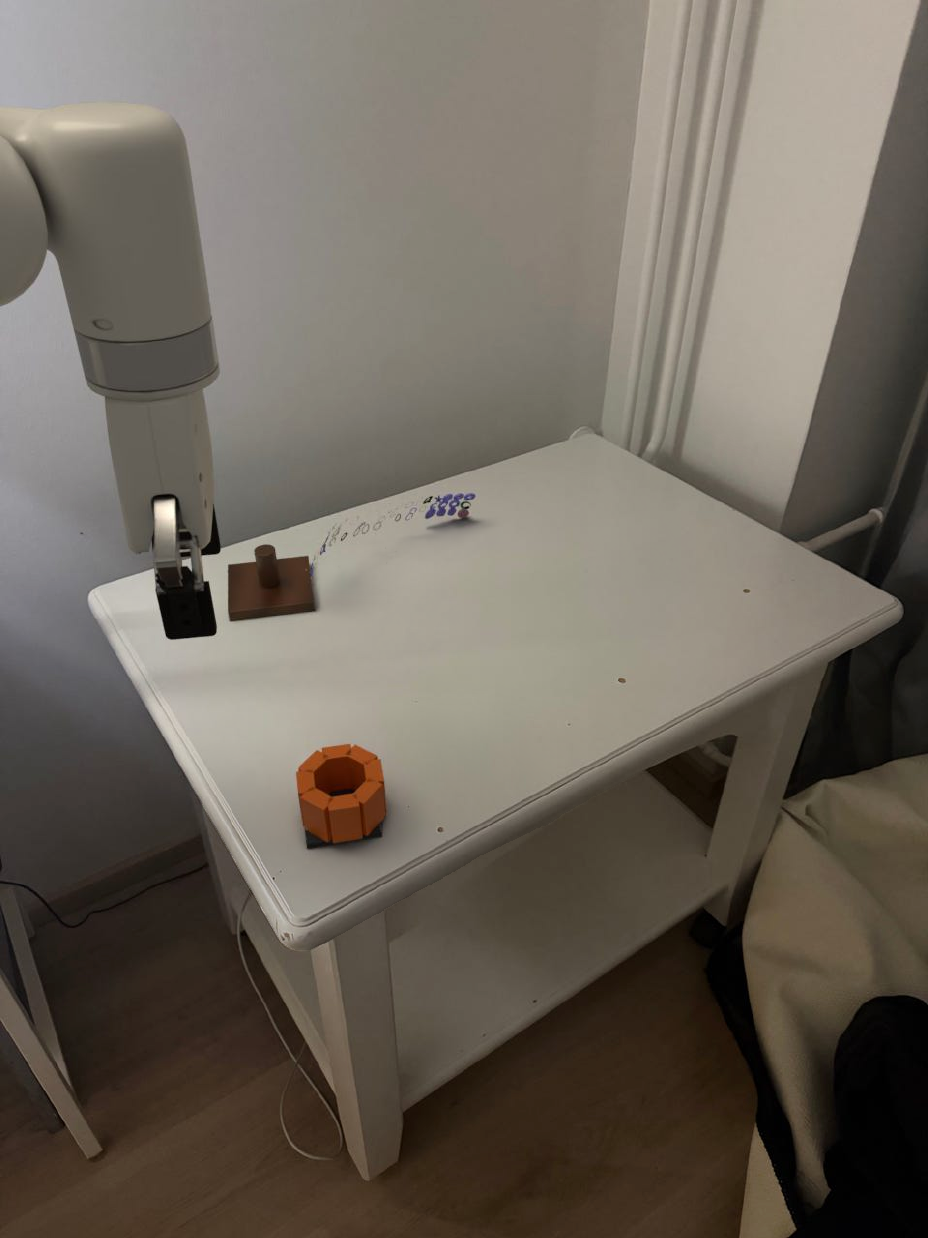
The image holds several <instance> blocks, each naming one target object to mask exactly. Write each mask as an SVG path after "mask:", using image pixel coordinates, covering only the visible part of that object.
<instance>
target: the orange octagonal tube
mask: <svg viewBox="0 0 928 1238" xmlns="http://www.w3.org/2000/svg"><path fill="white" fill-rule="evenodd" d="M295 777H296V789H297V797H298V798H297V799H298V805H299V810H300V816H301V817H300V818H301V822H302V827H304V830H305V829H306V830H307V831H309V832H310V833H312V834H314V835H316V836H317V837H319V838H321V839H323V840H324V841H326V842H329V841H330V840H331V839H332V841H333V843H339V842H345V841H351V840H357V839H362V838H363V834H364V835H366V836H368V835H369V834H370V833H371V832H372V831H373V830H374V828H375V827H376V826H377V825H378V824H379V823H380V824H381V822H382V821H383V820H384V819H385V818H386V814H387V801H386V787H385V777H384V771H383V766H382V761H381V759H380V758H379V757H378V755H377V754H375V753H374V752H371V751H369V750H367V749H365V748H364V747H361V746H359V745H358V744H354V745H351V743H344V744H338V745H331V746H325V747H324V746H323V747H321V751H320V750H317V749H316V750H315V751H314V752H313V753H312V754H311V755H310V756H309V757H308V758H306V759H305V760H304V761H303V762H302V763H301V764H300V765H299V766H298V768H297V771H295ZM346 789H353V790H355V792H354V793H353V794H347V795H341V796H334V797H331V796H329V795H328V794H329V793H330V792H333V791H340V790H346ZM339 844H340V843H339Z"/></svg>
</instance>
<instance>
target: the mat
mask: <svg viewBox="0 0 928 1238" xmlns="http://www.w3.org/2000/svg"><path fill="white" fill-rule="evenodd" d="M354 792H355V790H353V789H346V790H340V791H333V792H330V793H329V794H328V795H329V796H331V797H334V796H341V795H347V794H353V793H354ZM304 832H305V844H306V845H305V846H306V849H314V848H320V847H325V846H327V847H328V846H332V845H339V844H344V843H352V842H356V841H363V840H369V839H377V838H382V835H383V834H382V827H381V822H380V823H379V824H378V825H377V826H376V827H375V828H374V830H373V831H372V832H371V833H370V834H369V835H368V836H366V835H364V834H363V838H362V839H357V840H351V841H345V842H339V843H333V841H332V839H331V840H330V841H329V842H326V841H324V840H323V839H321V838H319V837H317V836H316V835H314V834H312V833H310V832H309V831H307V830H306V829H305V828H304Z"/></svg>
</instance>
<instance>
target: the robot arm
mask: <svg viewBox="0 0 928 1238" xmlns="http://www.w3.org/2000/svg"><path fill="white" fill-rule="evenodd" d="M191 169H192V168H191V163H190V157H189V151H188V145H187V141H186V137H185V134H184V131H183V129H182V128H181V125H180V124H179V123H178V121H177V120H176V119H175V118H174V116H172V115H171V114H170V113H168V112H167V111H166V110H163V109H161V108H158V107H155V106H152V105H149V104H143V103H133V102H121V101H114V102H113V101H94V102H81V103H80V102H79V103H73V104H72V103H71V104H65V105H60V106H59V105H58V106H55V107H52V108H49V109H46V108H45V109H43V108H30V107H15V106H4V105H0V307H3V306H6V305H8V304H10V303H12V302H13V301H15V300H17V299H18V298H19V297H21V296H23V295H24V294H25V293H26V292H27V291H28V290H29V288H30V287H31V286H32V285H33V284H34V283H35V281H36V280H37V279H38V277H39V275H40V273H41V271H42V269H43V267H44V264H45V261H46V258H47V253H48V251H49V252H50V253H52V255H53V256H54V257H55V259H56V263H57V267H58V270H59V274H60V278H61V282H62V286H63V291H64V295H65V299H66V304H67V307H68V311H69V315H70V320H71V324H72V328H73V332H74V336H75V340H76V345H77V349H78V352H79V356H80V357H79V358H80V361H81V365H82V370H83V374H84V378H85V382H86V385H87V387H88V388H89V390H90V391H91V392H94V393H95V394H97V395H99V396H102V397H104V407H105V419H106V427H107V428H106V429H107V435H108V442H109V448H110V454H111V460H112V466H113V472H114V477H115V478H114V479H115V483H116V488H117V493H118V499H119V503H120V509H121V514H122V521H123V526H124V530H125V535H126V541H127V546H128V549H129V550H130V551H131V552H132V553H134V555H141V554H142V553H149V551H150V547H151V550H152V561H153V562H152V563H153V572H154V585H155V591H154V592H155V595H156V599H157V604H158V608H159V612H160V617H161V622H162V626H163V631H164V635H165V638H167V640H170V641H174V640H175V641H177V640H185V639H195V638H209V637H213V636H214V637H215V635H216V634H217V632H218V625H217V619H216V614H215V607H214V601H213V597H212V591H211V586H210V581H209V580H205V578H204V569H203V568H204V567H203V557H202V556H215V555H219V554H220V553H221V548H222V546H221V545H222V544H221V538H220V533H219V527H218V521H217V520H218V519H217V513H216V509H215V503H214V498H215V497H214V495H215V474H214V459H213V449H212V448H213V447H212V441H211V432H210V426H209V420H208V419H209V418H208V413H207V407H206V406H207V405H206V401H205V393H204V389H205V388H207V387H209V386H210V385H212V384H213V383H214V382H215V381H216V380H217V379H218V377H219V376H220V373H221V370H220V369H221V368H220V362H219V355H218V349H217V342H216V336H215V335H216V334H215V329H214V328H215V327H214V321H213V316H212V307H211V303H210V294H209V288H208V279H207V273H206V266H205V259H204V253H203V246H202V237H201V232H200V231H201V230H200V226H199V218H198V211H197V203H196V198H195V190H194V185H193V178H192V177H193V176H192V170H191ZM189 557H190V564H191V569H190V568H189V566H188V565H183V560H182V558H189Z"/></svg>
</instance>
